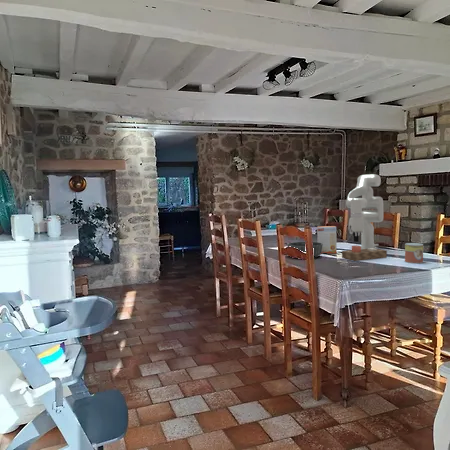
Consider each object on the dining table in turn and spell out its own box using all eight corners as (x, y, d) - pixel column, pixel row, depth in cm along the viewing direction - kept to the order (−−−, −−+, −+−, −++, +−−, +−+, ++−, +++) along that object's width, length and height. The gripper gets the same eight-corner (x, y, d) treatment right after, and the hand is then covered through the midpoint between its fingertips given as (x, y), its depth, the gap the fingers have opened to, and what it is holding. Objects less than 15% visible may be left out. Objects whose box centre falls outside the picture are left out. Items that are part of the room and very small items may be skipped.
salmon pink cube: (356, 251, 299) (356, 245, 298) (360, 252, 295) (360, 246, 294) (351, 252, 297) (351, 245, 297) (355, 252, 293) (355, 246, 293)
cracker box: (335, 252, 325) (335, 225, 323) (336, 253, 319) (336, 226, 317) (317, 252, 327) (317, 226, 325) (318, 253, 321) (318, 226, 319)
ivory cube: (372, 254, 304) (372, 248, 304) (376, 254, 300) (376, 248, 299) (367, 254, 302) (367, 248, 302) (371, 255, 298) (371, 249, 298)
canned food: (411, 263, 273) (411, 245, 271) (401, 260, 284) (401, 243, 282) (426, 262, 275) (427, 244, 274) (415, 259, 286) (416, 242, 285)
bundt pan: (283, 254, 322) (282, 241, 321) (315, 253, 325) (315, 240, 324) (292, 260, 295) (292, 246, 294) (328, 258, 299) (328, 245, 298)
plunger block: (373, 254, 310) (373, 248, 310) (386, 257, 297) (386, 250, 297) (342, 257, 300) (342, 251, 300) (354, 260, 287) (354, 253, 287)
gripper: (361, 215, 300) (361, 240, 301) (344, 215, 294) (344, 241, 296) (368, 215, 293) (368, 241, 294) (351, 216, 287) (350, 242, 289)
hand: (356, 241), depth 295 cm, fingers closed
